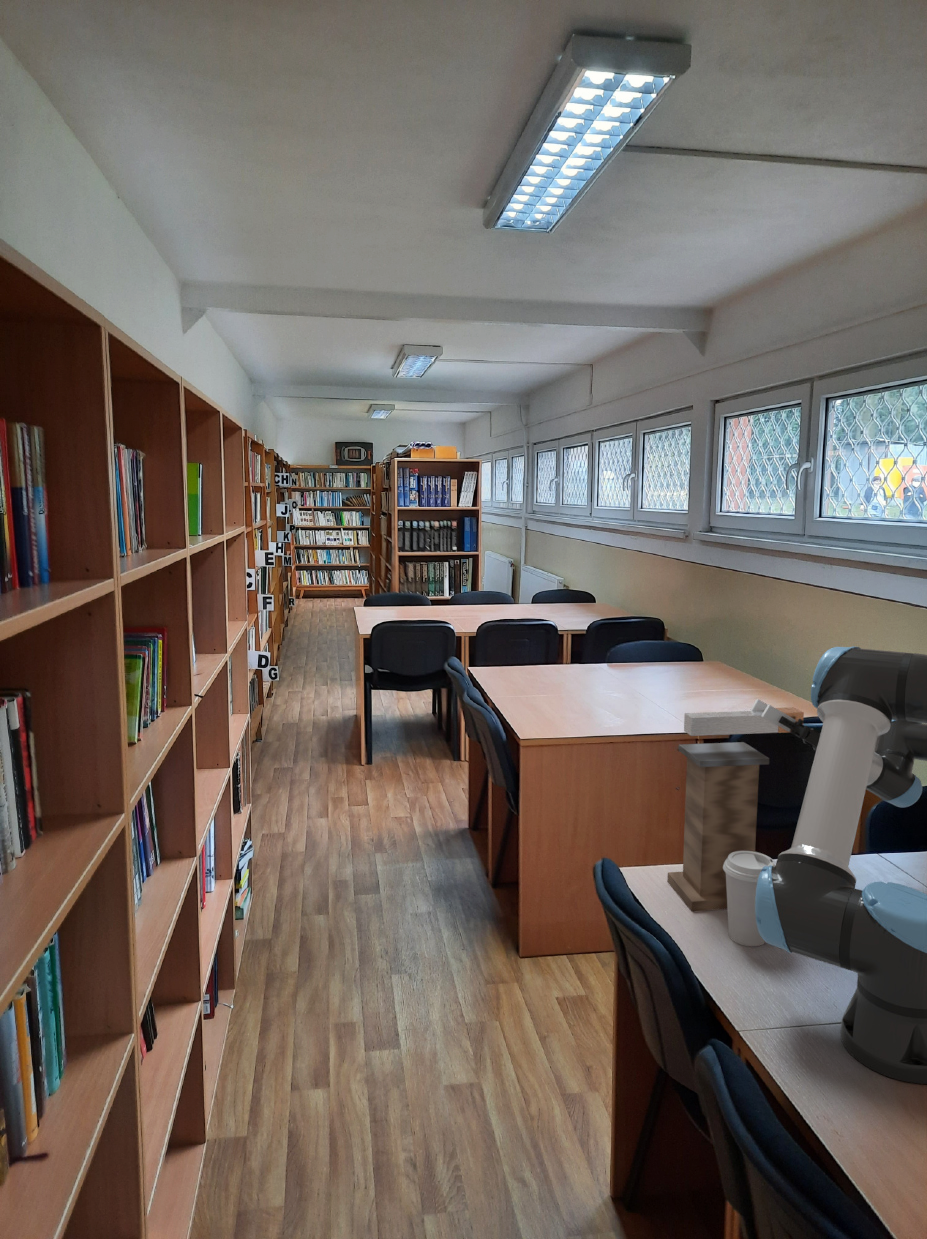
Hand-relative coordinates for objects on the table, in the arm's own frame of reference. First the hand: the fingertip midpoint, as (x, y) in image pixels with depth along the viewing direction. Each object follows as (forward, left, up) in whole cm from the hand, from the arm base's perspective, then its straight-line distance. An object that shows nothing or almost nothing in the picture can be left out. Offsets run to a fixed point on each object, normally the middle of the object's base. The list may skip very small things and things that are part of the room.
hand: (760, 707), depth 165 cm
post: (-6, +4, -39) cm, 39 cm away
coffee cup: (-16, -10, -39) cm, 43 cm away
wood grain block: (-3, +2, -5) cm, 6 cm away
